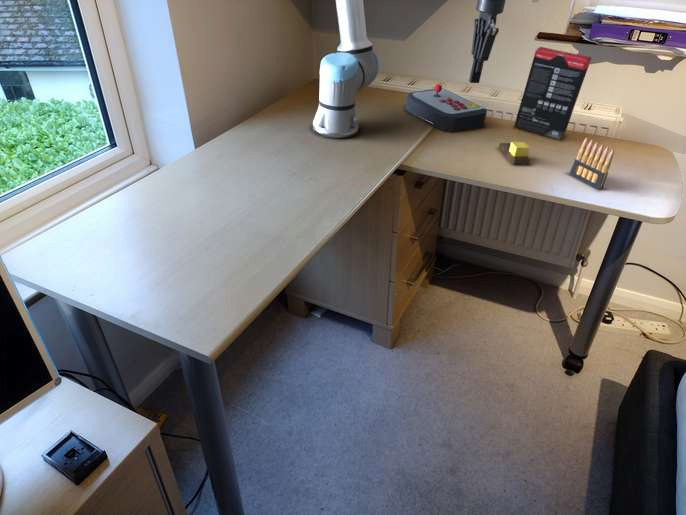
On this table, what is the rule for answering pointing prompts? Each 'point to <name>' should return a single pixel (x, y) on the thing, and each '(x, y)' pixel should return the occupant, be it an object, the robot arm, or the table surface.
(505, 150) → the walnut strip
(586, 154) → the ammunition clip
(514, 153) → the yellow block
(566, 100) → the graphics card box
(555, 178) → the table surface
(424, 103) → the arcade joystick
